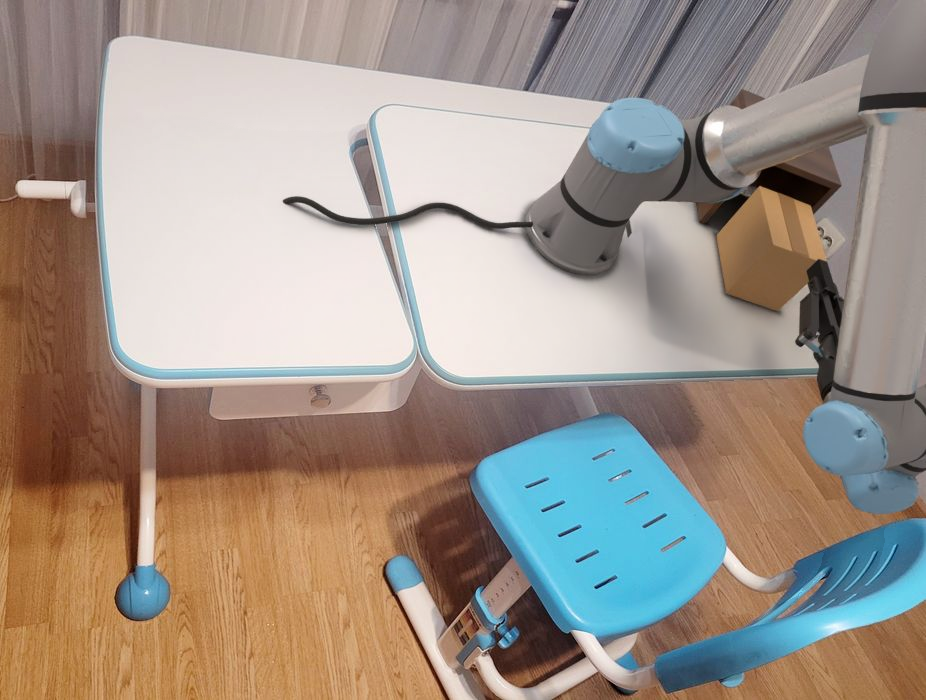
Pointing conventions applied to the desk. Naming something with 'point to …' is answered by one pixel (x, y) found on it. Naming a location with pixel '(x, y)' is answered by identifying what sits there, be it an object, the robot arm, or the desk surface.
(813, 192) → the cabinet
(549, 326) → the desk surface
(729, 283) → the box
